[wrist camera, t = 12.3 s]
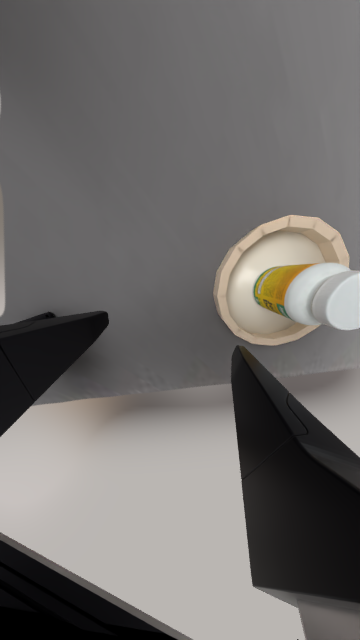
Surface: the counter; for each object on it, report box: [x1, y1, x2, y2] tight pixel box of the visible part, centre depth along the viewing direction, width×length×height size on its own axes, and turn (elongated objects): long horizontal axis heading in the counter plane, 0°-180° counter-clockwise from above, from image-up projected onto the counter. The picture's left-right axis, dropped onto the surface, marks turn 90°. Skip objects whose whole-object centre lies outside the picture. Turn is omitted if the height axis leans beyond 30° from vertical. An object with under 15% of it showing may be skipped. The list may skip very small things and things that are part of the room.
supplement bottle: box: [252, 263, 360, 330], centre depth 14 cm, size 5×5×10 cm
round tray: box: [213, 215, 349, 346], centre depth 18 cm, size 15×15×2 cm
